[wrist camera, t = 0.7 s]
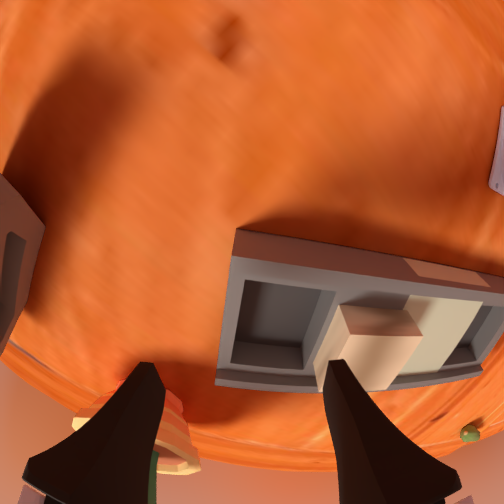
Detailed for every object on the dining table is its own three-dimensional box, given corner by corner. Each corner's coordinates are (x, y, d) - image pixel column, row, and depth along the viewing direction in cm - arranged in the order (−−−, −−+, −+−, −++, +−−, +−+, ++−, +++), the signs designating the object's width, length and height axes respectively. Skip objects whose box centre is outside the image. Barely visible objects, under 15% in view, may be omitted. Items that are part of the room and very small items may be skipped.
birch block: (407, 310, 18) (423, 336, 15) (376, 363, 21) (386, 389, 18) (338, 304, 18) (350, 334, 15) (312, 362, 20) (318, 392, 18)
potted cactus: (224, 387, 27) (206, 608, 4) (196, 436, 33) (178, 580, 11) (89, 340, 24) (5, 537, 2) (98, 403, 31) (54, 539, 9)
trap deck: (511, 279, 20) (530, 297, 17) (466, 355, 26) (479, 375, 22) (236, 228, 19) (231, 255, 15) (219, 350, 24) (214, 385, 20)
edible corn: (478, 430, 35) (465, 444, 35) (484, 434, 41) (474, 446, 42) (467, 419, 40) (454, 433, 40) (476, 426, 46) (465, 437, 46)
